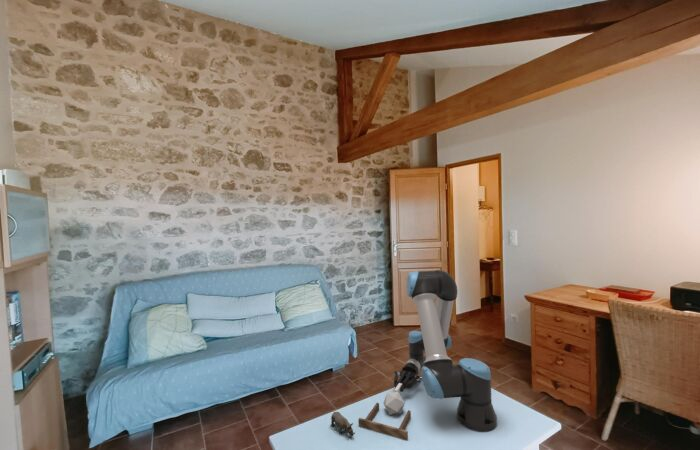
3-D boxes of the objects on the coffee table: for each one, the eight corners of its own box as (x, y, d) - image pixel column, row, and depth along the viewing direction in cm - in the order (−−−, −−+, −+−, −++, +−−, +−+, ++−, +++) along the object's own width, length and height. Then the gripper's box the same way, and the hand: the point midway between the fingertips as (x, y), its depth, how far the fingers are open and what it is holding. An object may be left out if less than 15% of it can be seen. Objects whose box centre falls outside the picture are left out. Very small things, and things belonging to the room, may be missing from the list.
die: (401, 422, 130) (410, 398, 133) (382, 411, 130) (391, 388, 134) (396, 417, 137) (404, 395, 141) (378, 407, 138) (387, 385, 141)
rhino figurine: (350, 443, 118) (349, 427, 117) (328, 426, 128) (328, 411, 128) (358, 438, 120) (358, 422, 120) (336, 421, 131) (336, 407, 131)
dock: (416, 419, 130) (416, 412, 130) (407, 440, 118) (406, 432, 118) (371, 408, 139) (371, 401, 139) (358, 426, 127) (358, 419, 127)
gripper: (424, 379, 157) (410, 405, 136) (399, 374, 163) (382, 398, 142) (423, 364, 157) (410, 387, 136) (398, 360, 163) (381, 381, 142)
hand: (396, 393), depth 139 cm, fingers closed
